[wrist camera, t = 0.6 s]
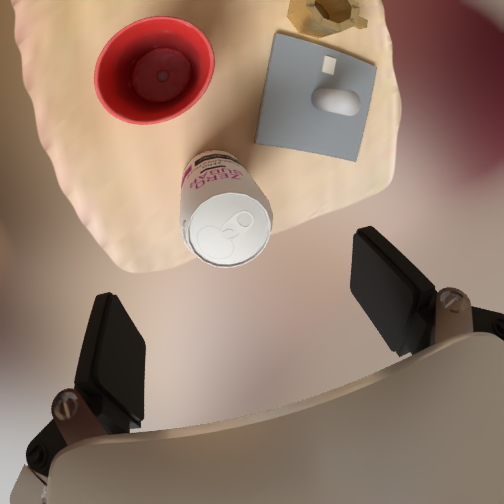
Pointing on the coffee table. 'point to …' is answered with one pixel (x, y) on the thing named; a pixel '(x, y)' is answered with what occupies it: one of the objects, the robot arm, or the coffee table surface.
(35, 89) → the coffee table surface
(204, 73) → the flower pot
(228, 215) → the supplement can
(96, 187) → the coffee table surface
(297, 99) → the post base
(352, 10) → the cup
